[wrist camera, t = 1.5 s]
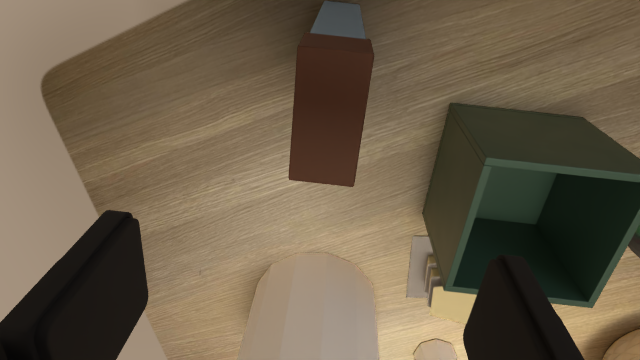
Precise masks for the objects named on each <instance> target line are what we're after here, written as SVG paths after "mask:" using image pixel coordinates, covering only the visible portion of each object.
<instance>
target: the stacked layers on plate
mask: <svg viewBox="0 0 640 360" xmlns="http://www.w3.org/2000/svg"><path fill="white" fill-rule="evenodd" d="M476 296H477V295H474V294H465V293H457V292H448V291H444V290H443V286H442V283H441V279H440V275H439V272H438V268H437V265H436V261H435V257H434V254H433V250H432V246H431V243H430V239H429V237H427V236H413V239H412V248H411V257H410V266H409V276H408V285H407V294H406V297H410V298H428V301H427V305H428V306H429V307H431V308H430V316H434V317H438V318H442V319H446V320H450V321H454V322H458V323H462V324H466V323H467V321H468V318H469V315H470V313H471V310H472V307H473V304H474V302H475V299H476Z"/></svg>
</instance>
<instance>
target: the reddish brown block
mask: <svg viewBox="0 0 640 360" xmlns="http://www.w3.org/2000/svg"><path fill="white" fill-rule="evenodd" d="M373 60H374V53H373V48H372V44H371V40H369V39H361V38H352V37H343V36H334V35H325V34H316V33H307V32H306V33H305V34H304V36H303V38H302V40H301V41H300V43H299V45H298V49H297V63H296V78H295V92H294V107H293V121H292V136H291V150H290V165H289V180H296V181H305V182H313V183H322V184H331V185H340V186H349V187H353V186H354V182H355V176H356V169H357V163H358V156H359V150H360V144H361V137H362V131H363V124H364V118H365V112H366V105H367V99H368V92H369V86H370V80H371V73H372V67H373Z"/></svg>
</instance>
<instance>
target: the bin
mask: <svg viewBox="0 0 640 360" xmlns="http://www.w3.org/2000/svg"><path fill="white" fill-rule="evenodd" d="M422 214H423V218H424V221H425V225H426V228H427V232H428V236H429V239H430V243H431V246H432V250H433V254H434V257H435V261H436V265H437V268H438V272H439V275H440V279H441V283H442V286H443V290H444V291H448V292H457V293H465V294H474V295H477V293H478V291H479V288H480V285H481V283H482V280H483V277H484V274H485V272H486V269H487V266H488V263H489V261H490V260H491V259H496V258H497V256H498V255H501V254H502V255H511V256H520V257H523V258H524V259H525V260H526V262H527V263H528V265H529V267H530V269H531V270H532V272H533V274H534V276H535V277H536V279H537V281H538V283H539V284H540V286H541V288H542V290H543V291H544V293H545V295H546V297H547V298H548V300H549V302H550V303H553V304H562V305H570V306H579V307H588V308H593V306H594V304H595V303H596V301H597V299H598V297H599V296H600V294H601V292H602V290H603V289H604V287H605V285H606V283H607V281H608V280H609V278H610V276H611V274H612V273H613V271H614V269H615V267H616V265H617V264H618V262H619V260H620V258H621V257H622V255H623V253H624V251H625V249H626V248H627V246H628V244H629V242H630V241H631V239H632V237H633V235H634V233H635V232H636V230H637V228H638V226H639V225H640V159H639V158H638V157H636V156H635V155H634V154H632V153H631V152H630V151H628V150H627V149H625V148H624V147H623V146H621V145H620V144H619V143H617V142H616V141H614V140H613V139H612V138H610V137H609V136H608V135H606V134H605V133H603V132H602V131H601V130H599V129H598V128H597V127H595V126H594V125H593V124H591V123H590V122H588V121H587V120H586V119H584V118H583V117H574V116H565V115H556V114H547V113H538V112H530V111H521V110H512V109H503V108H494V107H485V106H476V105H467V104H458V103H450V107H449V111H448V114H447V118H446V122H445V126H444V130H443V134H442V138H441V142H440V146H439V150H438V154H437V157H436V161H435V165H434V169H433V173H432V177H431V181H430V185H429V189H428V193H427V197H426V200H425V204H424V208H423V212H422Z"/></svg>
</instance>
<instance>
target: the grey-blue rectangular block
mask: <svg viewBox="0 0 640 360" xmlns="http://www.w3.org/2000/svg"><path fill="white" fill-rule="evenodd" d="M310 33H316V34H325V35H334V36H343V37H352V38H361V39H366V37H365V32H364V27H363V21H362V16H361V11H360V5H359V4H350V3H341V2H332V1H324V2H323V4H322V7H321V9H320V11H319V13H318V16H317V18H316V20H315V22H314V24H313V27H312V29H311V31H310Z"/></svg>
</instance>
